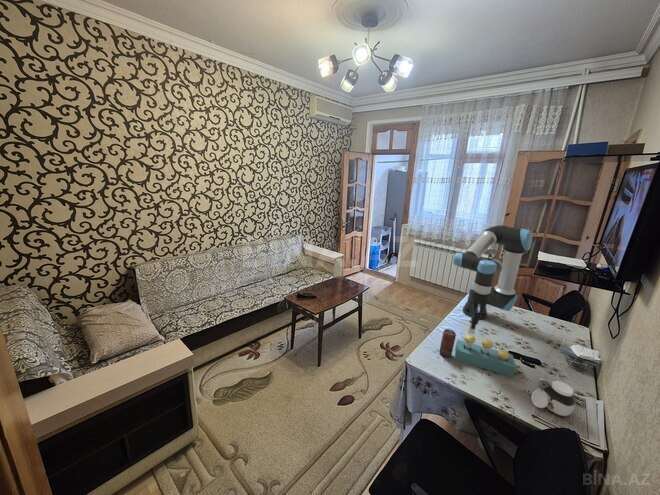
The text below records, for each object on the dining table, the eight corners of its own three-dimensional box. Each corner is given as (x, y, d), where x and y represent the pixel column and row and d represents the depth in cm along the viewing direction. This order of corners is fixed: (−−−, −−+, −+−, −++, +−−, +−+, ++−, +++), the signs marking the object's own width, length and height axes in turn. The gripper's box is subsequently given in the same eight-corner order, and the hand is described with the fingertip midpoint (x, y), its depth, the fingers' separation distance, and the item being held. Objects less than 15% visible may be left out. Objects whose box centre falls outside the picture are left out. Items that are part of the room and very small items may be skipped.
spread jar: (573, 416, 110) (582, 394, 107) (556, 424, 106) (565, 401, 103) (542, 393, 121) (550, 372, 117) (525, 400, 117) (533, 378, 113)
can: (436, 352, 145) (440, 330, 140) (445, 349, 147) (449, 327, 143) (444, 359, 139) (449, 336, 135) (453, 356, 142) (458, 334, 138)
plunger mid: (478, 349, 140) (481, 337, 138) (489, 352, 139) (492, 340, 136) (479, 355, 136) (482, 343, 134) (490, 358, 134) (493, 345, 132)
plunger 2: (494, 360, 138) (497, 348, 136) (505, 363, 137) (508, 351, 134) (495, 366, 134) (499, 354, 132) (506, 370, 132) (510, 357, 130)
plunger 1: (462, 345, 143) (464, 333, 141) (472, 348, 142) (475, 335, 139) (462, 350, 139) (465, 338, 137) (472, 353, 137) (475, 341, 135)
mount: (455, 348, 148) (457, 339, 146) (509, 364, 138) (512, 354, 136) (455, 359, 139) (457, 350, 138) (513, 377, 129) (516, 367, 128)
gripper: (471, 284, 138) (462, 324, 145) (473, 295, 126) (463, 337, 133) (488, 288, 135) (478, 328, 142) (491, 298, 123) (480, 342, 130)
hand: (471, 332), depth 137 cm, fingers closed
